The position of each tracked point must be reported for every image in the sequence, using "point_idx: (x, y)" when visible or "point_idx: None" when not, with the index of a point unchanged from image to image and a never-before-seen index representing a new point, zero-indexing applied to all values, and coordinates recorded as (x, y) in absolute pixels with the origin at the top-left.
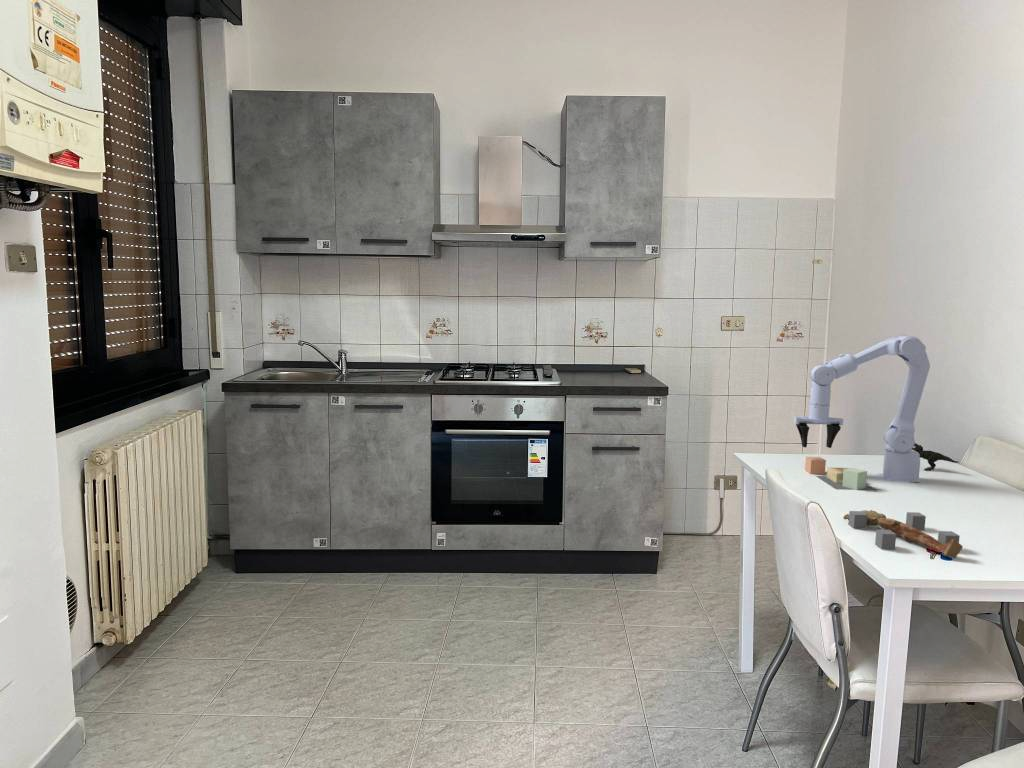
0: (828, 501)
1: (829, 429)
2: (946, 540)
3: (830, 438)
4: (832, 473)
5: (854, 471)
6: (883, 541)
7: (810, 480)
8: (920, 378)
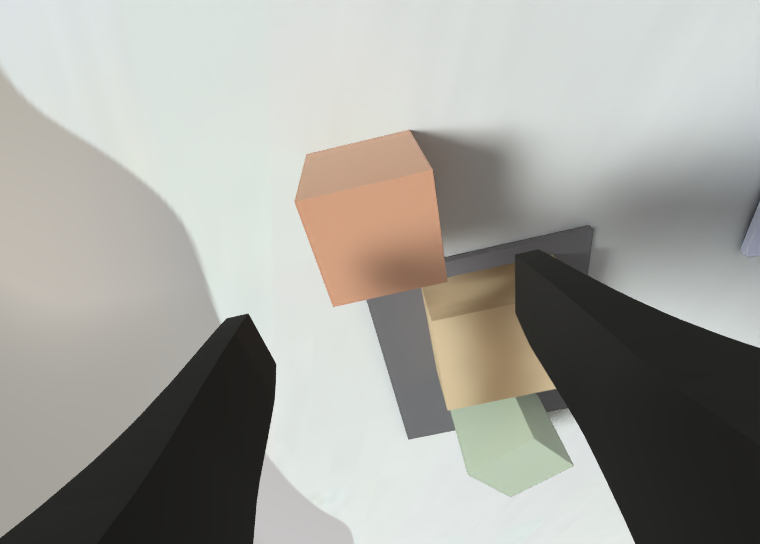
0: (357, 515)
1: (678, 507)
2: None
3: (576, 404)
4: (437, 363)
5: (506, 485)
6: None
7: (326, 340)
8: None
